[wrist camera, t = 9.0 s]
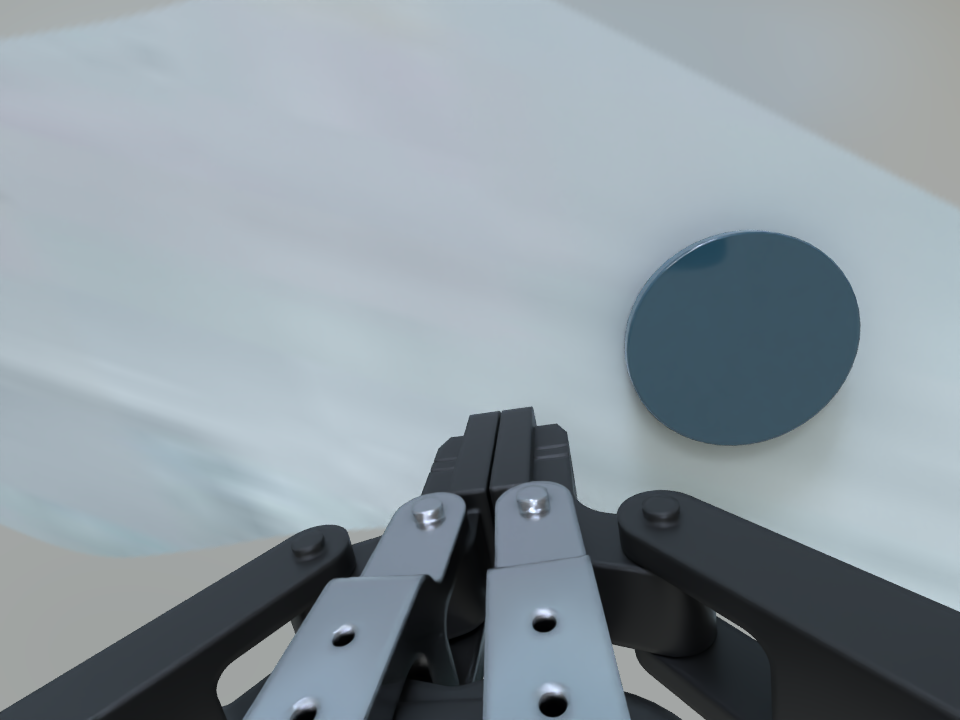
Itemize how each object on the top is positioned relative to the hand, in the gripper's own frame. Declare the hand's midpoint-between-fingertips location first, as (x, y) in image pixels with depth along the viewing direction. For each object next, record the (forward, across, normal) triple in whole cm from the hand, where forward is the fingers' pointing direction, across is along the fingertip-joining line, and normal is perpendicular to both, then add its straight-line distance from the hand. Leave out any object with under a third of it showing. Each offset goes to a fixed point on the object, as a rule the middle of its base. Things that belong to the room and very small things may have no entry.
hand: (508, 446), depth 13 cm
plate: (+7, -7, 0) cm, 10 cm away
